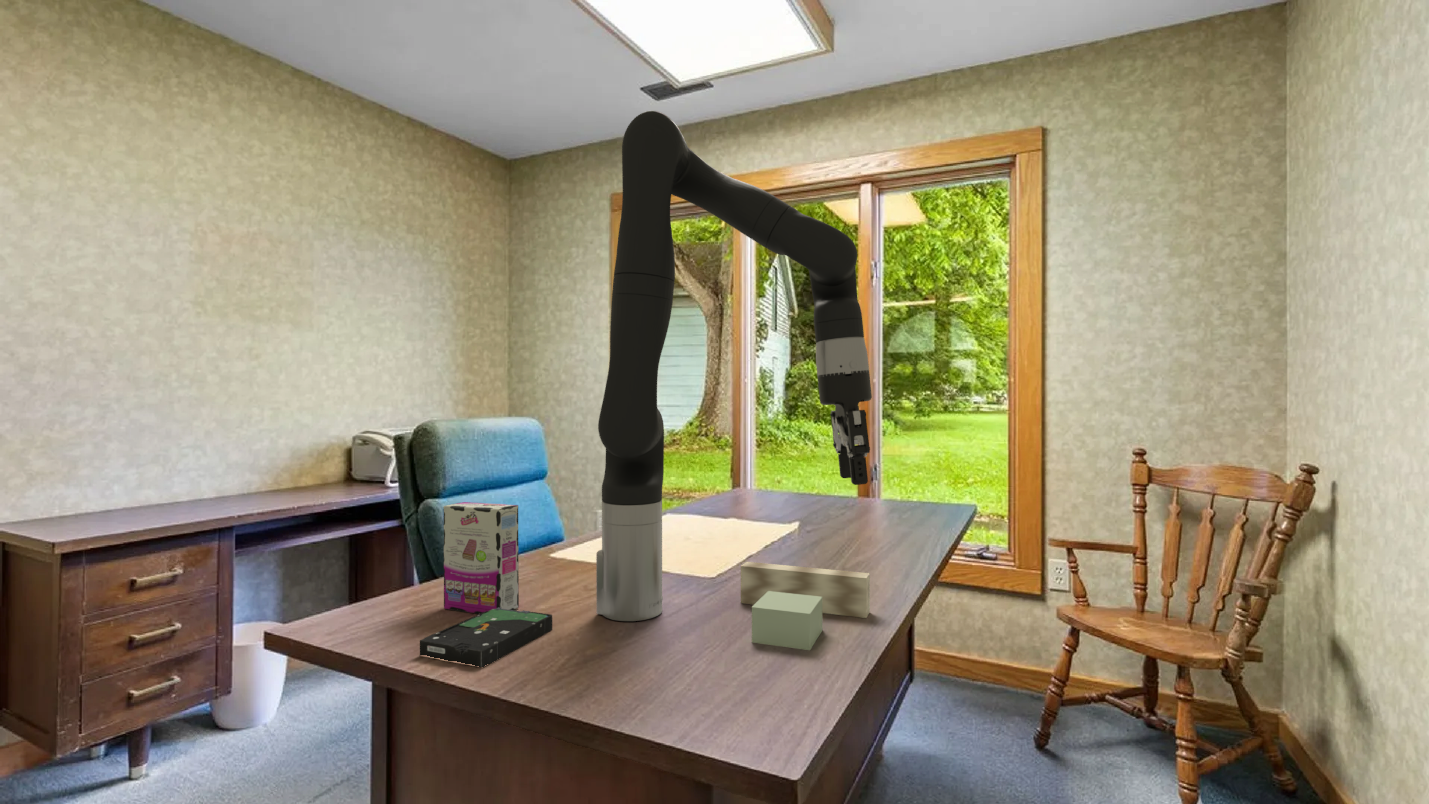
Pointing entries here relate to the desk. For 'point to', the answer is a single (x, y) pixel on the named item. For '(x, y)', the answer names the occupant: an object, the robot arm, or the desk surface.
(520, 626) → the disk drive
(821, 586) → the stop board
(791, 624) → the sage block
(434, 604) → the desk surface
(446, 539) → the candy bar box
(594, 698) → the desk surface
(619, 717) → the desk surface
